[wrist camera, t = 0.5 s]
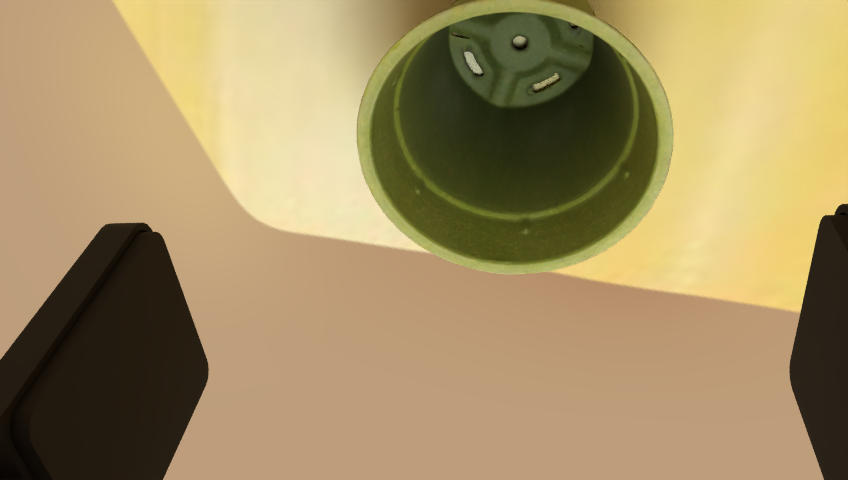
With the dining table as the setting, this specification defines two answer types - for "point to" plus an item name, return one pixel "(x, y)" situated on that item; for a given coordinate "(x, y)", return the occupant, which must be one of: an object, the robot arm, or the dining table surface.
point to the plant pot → (515, 135)
